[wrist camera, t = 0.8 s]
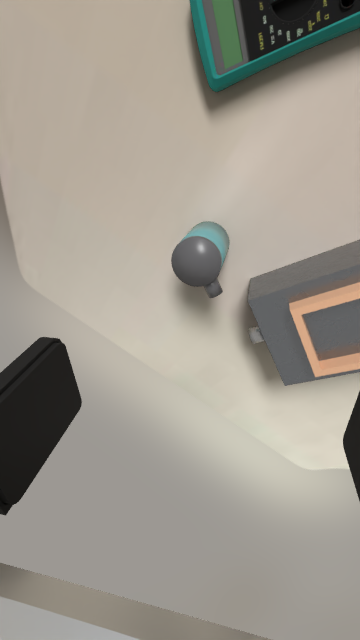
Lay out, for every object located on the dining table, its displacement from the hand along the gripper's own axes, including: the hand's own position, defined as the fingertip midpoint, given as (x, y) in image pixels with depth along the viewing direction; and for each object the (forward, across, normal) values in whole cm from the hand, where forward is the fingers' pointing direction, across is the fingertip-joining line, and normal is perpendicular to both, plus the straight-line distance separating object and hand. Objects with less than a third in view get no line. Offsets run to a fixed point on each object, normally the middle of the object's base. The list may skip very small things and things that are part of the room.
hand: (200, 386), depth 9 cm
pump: (+27, +3, +3) cm, 28 cm away
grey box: (+27, -12, +9) cm, 31 cm away
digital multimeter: (+28, -3, -16) cm, 32 cm away
